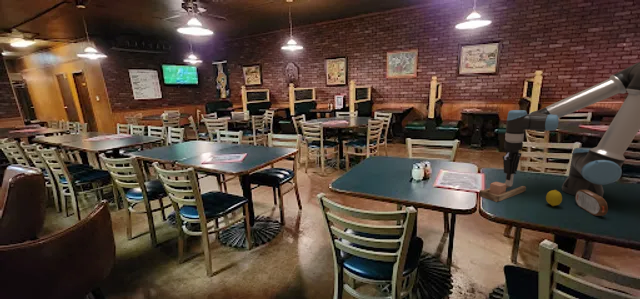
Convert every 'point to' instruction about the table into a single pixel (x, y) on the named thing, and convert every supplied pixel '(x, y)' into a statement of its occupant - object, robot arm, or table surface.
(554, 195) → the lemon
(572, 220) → the table surface
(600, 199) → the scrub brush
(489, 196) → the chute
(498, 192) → the block
